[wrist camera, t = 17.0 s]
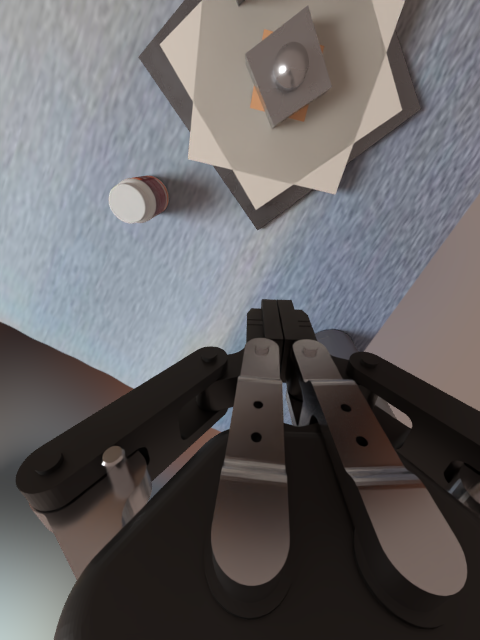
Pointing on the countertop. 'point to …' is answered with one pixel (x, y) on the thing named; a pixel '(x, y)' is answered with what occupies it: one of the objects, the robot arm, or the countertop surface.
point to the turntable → (308, 123)
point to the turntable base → (183, 106)
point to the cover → (288, 68)
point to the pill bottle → (138, 199)
